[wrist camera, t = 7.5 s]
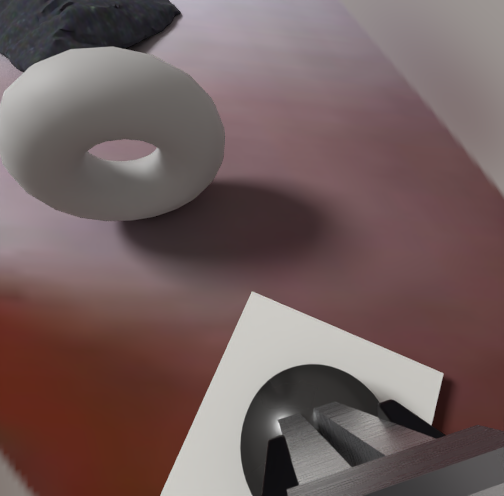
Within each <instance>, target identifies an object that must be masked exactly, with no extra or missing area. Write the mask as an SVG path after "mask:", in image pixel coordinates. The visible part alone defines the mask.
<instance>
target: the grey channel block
mask: <svg viewBox="0 0 504 496" xmlns="http://www.w3.org/2000/svg"><path fill="white" fill-rule="evenodd" d="M378 403H380V402H379V401H378V399H377V398H376V397H375V395H374V394H373V393H372V392H371V391H370V390H369V389H368V388H367V387H366V386H365V385H364V384H363V383H362V382H360V381H359V380H358V379H357V378H355V377H353V376H352V375H350V374H349V373H347V372H345V371H342V370H340V369H337V368H334V367H331V366H327V365H321V364H306V365H299V366H295V367H291V368H288V369H286V370H283V371H281V372H279V373H277V374H276V375H274V376H273V377H271V378H270V379H269V380H268V381H267V382H266V383H265V384H264V385H263V386H262V387H261V388H260V389H259V390H258V392H257V393H256V394H255V396H254V398H253V400H252V401H251V403H250V406H249V408H248V410H247V413H246V415H245V419H244V422H243V426H242V432H241V442H240V452H241V462H242V468H243V472H244V476H245V479H246V482H247V485H248V487H249V489H250V492H251V494H252V496H261V495H262V487H263V478H264V470H265V461H266V453H267V444H268V440H269V439H270V438H273V437H276V436H279V435H284V436H285V438H286V442H287V445H288V448H289V452H290V455H291V456H290V458H291V461H292V464H293V468H294V471H295V475H296V478H297V481H298V486H295V487H293V488H290V489H287V495H288V496H504V431H501V430H497V429H492V428H488V427H484V426H480V425H476V426H473V427H470V428H467V429H464V430H461V431H458V432H455V433H452V434H449V435H446V436H443V437H440V438H437V439H435V438H433V437H430V436H427V435H425V434H422V433H419V432H416V431H414V430H411V429H408V428H406V427H403V426H400V425H398V424H395V423H391V422H388V421H386V420H383V419H380V418H378V414H377V405H378Z"/></svg>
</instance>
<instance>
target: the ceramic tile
mask: <svg viewBox="0 0 504 496" xmlns="http://www.w3.org/2000/svg"><path fill="white" fill-rule="evenodd" d="M306 364H321V365H327V366H331V367H334V368H337V369H340V370H342V371H345V372H347V373H349V374H350V375H352V376H353V377H355V378H357V379H358V380H359V381H360V382H362V383H363V384H364V385H365V386H366V387H367V388H368V389H369V390H370V391H371V392H372V393H373V394H374V395H375V397H376V398H377V399H378V401H379V402H383V401H386V400H389V399H392V400H395V401H397V402H398V403H400V404H401V405H402V406H404V407H405V408H407V409H408V410H410V411H411V412H413V413H414V414H416V415H417V416H418V417H420V418H421V419H423V420H424V421H426V422H427V423H429V424H430V425H432V421H433V417H434V413H435V408H436V404H437V400H438V395H439V391H440V387H441V382H442V378H443V374H444V373H441V372H439V371H437V370H434V369H432V368H430V367H427V366H425V365H423V364H420V363H418V362H416V361H413V360H411V359H409V358H406V357H404V356H402V355H399V354H397V353H395V352H392V351H390V350H388V349H385V348H383V347H381V346H378V345H376V344H374V343H371V342H369V341H367V340H364V339H362V338H360V337H357V336H355V335H353V334H350V333H348V332H346V331H343V330H341V329H339V328H336V327H334V326H332V325H329V324H327V323H325V322H322V321H320V320H318V319H315V318H313V317H311V316H308V315H306V314H304V313H301V312H299V311H297V310H294V309H292V308H290V307H287V306H285V305H283V304H280V303H278V302H276V301H273V300H271V299H269V298H266V297H264V296H262V295H259V294H257V293H255V292H252V293H251V295H250V297H249V299H248V302H247V304H246V306H245V308H244V311H243V313H242V315H241V317H240V319H239V322H238V324H237V326H236V328H235V331H234V333H233V335H232V337H231V339H230V342H229V344H228V346H227V348H226V351H225V353H224V355H223V357H222V359H221V362H220V364H219V366H218V368H217V371H216V373H215V375H214V377H213V379H212V382H211V384H210V386H209V388H208V391H207V393H206V395H205V397H204V399H203V402H202V404H201V406H200V408H199V411H198V413H197V415H196V417H195V419H194V422H193V424H192V426H191V428H190V431H189V433H188V435H187V437H186V439H185V442H184V444H183V446H182V448H181V451H180V453H179V455H178V457H177V459H176V462H175V464H174V466H173V468H172V471H171V473H170V475H169V477H168V479H167V482H166V484H165V486H164V488H163V491H162V493H161V495H160V496H252V494H251V492H250V489H249V487H248V485H247V482H246V479H245V476H244V472H243V468H242V462H241V452H240V442H241V432H242V426H243V422H244V419H245V415H246V413H247V410H248V408H249V406H250V403H251V401H252V400H253V398H254V396H255V394H256V393H257V392H258V390H259V389H260V388H261V387H262V386H263V385H264V384H265V383H266V382H267V381H268V380H269V379H270V378H271V377H273V376H274V375H276V374H277V373H279V372H281V371H283V370H286V369H288V368H291V367H295V366H299V365H306Z"/></svg>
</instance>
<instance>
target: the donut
mask: <svg viewBox="0 0 504 496" xmlns="http://www.w3.org/2000/svg"><path fill="white" fill-rule="evenodd" d="M121 139H129V140H140V141H144V142H147V143H150V144H153V145H154V146H156V147H157V149H156V150H155V151H154V152H153V153H151V154H150V155H148V156H146V157H143V158H140V159H137V160H130V161H109V160H105V159H101V158H98V157H96V156H94V155H92V154H90V153H89V152H88V150H89V149H91V148H92V147H93V146H95V145H97V144H100V143H103V142H105V141H113V140H121ZM224 144H225V131H224V126H223V124H222V121H221V119H220V116H219V114H218V111H217V109H216V106H215V104H214V102H213V100H212V98H211V97H210V96H209V95H208V94H207V93H206V92H205V91H204V90H203V89H202V88H201V87H200V86H199V85H198V83H197V82H196V81H195V80H194V79H193V78H192V77H191V76H190V75H188V74H187V73H185V72H184V71H182V70H180V69H178V68H176V67H174V66H172V65H171V64H169V63H167V62H165V61H163V60H161V59H159V58H157V57H156V56H154V55H150V54H146V53H141V52H136V51H132V50H127V49H122V48H118V47H97V48H82V49H70V50H68V51H65V52H62V53H60V54H57V55H55V56H52V57H50V58H47V59H45V60H42V61H40V62H37V63H35V64H33V65H32V66H30V67H29V68H28V69H27V70H26V71H25V72H24V73H23V74H22V75H21V76H20V77H19V78H18V79H17V80H16V81H15V82H14V83H13V84H11V85H10V86H9V87H8V88H7V89H6V90H5V91H4V94H3V97H2V100H1V104H0V156H1V160H2V163H3V166H4V167H5V168H6V169H7V171H8V172H9V173H10V174H11V176H12V177H13V178H14V179H15V180H16V181H17V182H18V183H19V185H20V186H21V187H22V188H23V189H24V190H25V191H26V192H27V193H28V194H30V195H32V196H33V197H35V198H37V199H38V200H40V201H42V202H43V203H45V204H47V205H48V206H50V207H52V208H54V209H55V210H58V211H61V212H64V213H67V214H71V215H74V216H77V217H80V218H87V219H94V220H102V221H132V220H138V219H144V218H150V217H155V216H158V215H161V214H164V213H167V212H170V211H173V210H176V209H178V208H179V207H181V206H183V205H185V204H186V203H188V202H190V201H192V200H193V199H195V198H196V197H197V196H198V195H199V194H200V193H201V192H202V191H203V190H204V189H205V188H206V187H207V186H208V185H209V184H210V183H211V182H212V181H213V179H214V177H215V175H216V174H217V172H218V170H219V168H220V166H221V164H222V161H223V158H224Z"/></svg>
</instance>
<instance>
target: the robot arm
mask: <svg viewBox="0 0 504 496" xmlns="http://www.w3.org/2000/svg"><path fill="white" fill-rule="evenodd" d="M377 414H378V418H380V419H383V420H386V421H388V422H391V423H395V424H398V425H400V426H403V427H406V428H408V429H411V430H414V431H416V432H419V433H422V434H425V435H427V436H430V437H433V438H435V439H437V438H440V437H443V436H446V435H445V434H443V433H442V432H440V431H439V430H437V429H436V428H434V427H433V426H432V425H430V424H429V423H427V422H426V421H424V420H423V419H421V418H420V417H418V416H417V415H416V414H414V413H413V412H411V411H410V410H408V409H407V408H405V407H404V406H402V405H401V404H400V403H398V402H397V401H395V400H392V399H389V400H386V401H383V402H380V403H378V405H377ZM290 456H291V455H290V452H289V448H288V445H287V442H286V438H285V436H284V435H279V436H276V437H273V438H270V439H269V440H268V444H267V453H266V461H265V470H264V478H263V487H262V495H261V496H288V495H287V489H290V488H293V487H295V486H298V481H297V478H296V475H295V471H294V468H293V464H292V461H291V458H290Z"/></svg>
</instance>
